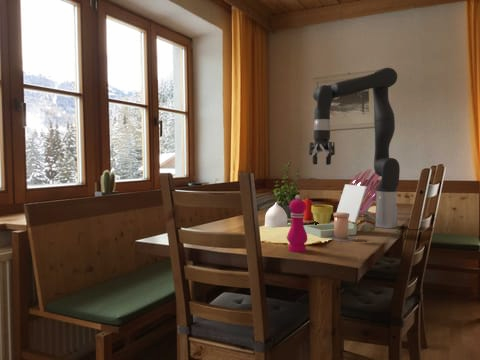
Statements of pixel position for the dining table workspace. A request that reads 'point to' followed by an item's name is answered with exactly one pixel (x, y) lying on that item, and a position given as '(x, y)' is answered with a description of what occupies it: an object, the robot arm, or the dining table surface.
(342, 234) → the terracotta pot
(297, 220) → the pepper mill
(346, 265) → the dining table surface
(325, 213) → the plant pot
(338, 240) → the slate coaster
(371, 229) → the chocolate bunny
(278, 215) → the teardrop
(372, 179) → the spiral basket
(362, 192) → the cold frame
